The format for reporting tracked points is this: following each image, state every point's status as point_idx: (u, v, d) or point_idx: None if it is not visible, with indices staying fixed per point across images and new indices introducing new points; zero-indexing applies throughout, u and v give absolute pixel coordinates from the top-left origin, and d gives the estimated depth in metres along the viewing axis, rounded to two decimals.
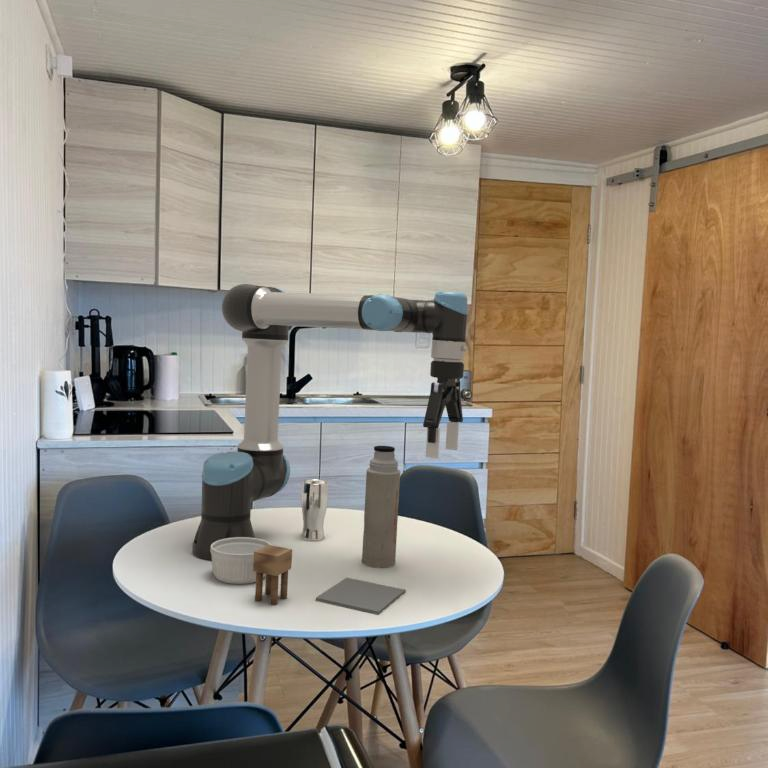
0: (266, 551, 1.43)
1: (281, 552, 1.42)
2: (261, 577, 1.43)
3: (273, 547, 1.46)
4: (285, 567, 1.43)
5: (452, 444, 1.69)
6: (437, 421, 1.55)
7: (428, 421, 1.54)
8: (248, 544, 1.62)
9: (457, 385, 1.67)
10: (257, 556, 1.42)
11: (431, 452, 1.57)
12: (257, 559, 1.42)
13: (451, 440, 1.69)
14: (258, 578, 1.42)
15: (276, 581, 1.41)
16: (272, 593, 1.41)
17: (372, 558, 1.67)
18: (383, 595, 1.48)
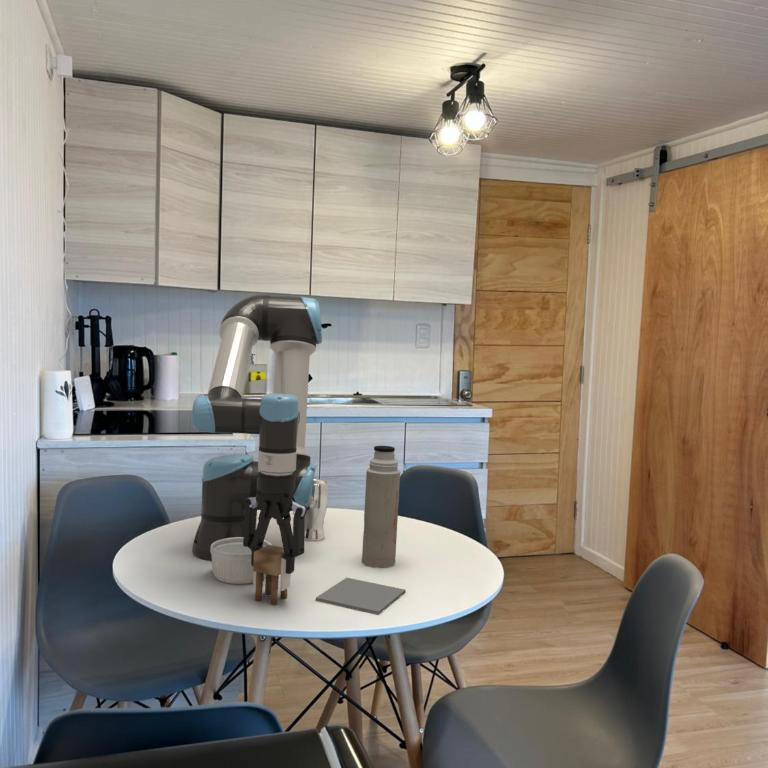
0: (266, 551, 1.43)
1: (281, 552, 1.42)
2: (261, 577, 1.43)
3: (273, 547, 1.46)
4: None
5: None
6: (251, 544, 1.44)
7: None
8: None
9: None
10: (257, 556, 1.42)
11: None
12: (257, 559, 1.42)
13: None
14: (258, 578, 1.42)
15: (276, 581, 1.41)
16: (272, 593, 1.41)
17: (372, 558, 1.67)
18: (383, 595, 1.48)
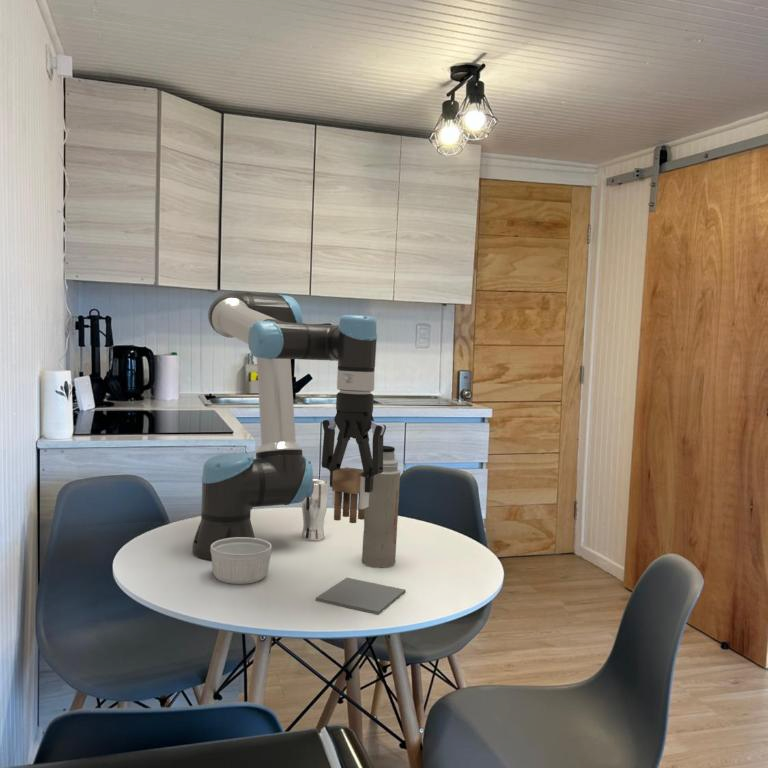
0: (344, 470, 1.45)
1: (359, 472, 1.44)
2: (340, 496, 1.44)
3: (351, 468, 1.47)
4: None
5: None
6: (330, 464, 1.46)
7: None
8: (248, 544, 1.62)
9: None
10: (336, 475, 1.44)
11: None
12: (336, 478, 1.44)
13: None
14: (337, 497, 1.44)
15: (355, 499, 1.43)
16: (351, 511, 1.43)
17: (372, 558, 1.67)
18: (383, 595, 1.48)
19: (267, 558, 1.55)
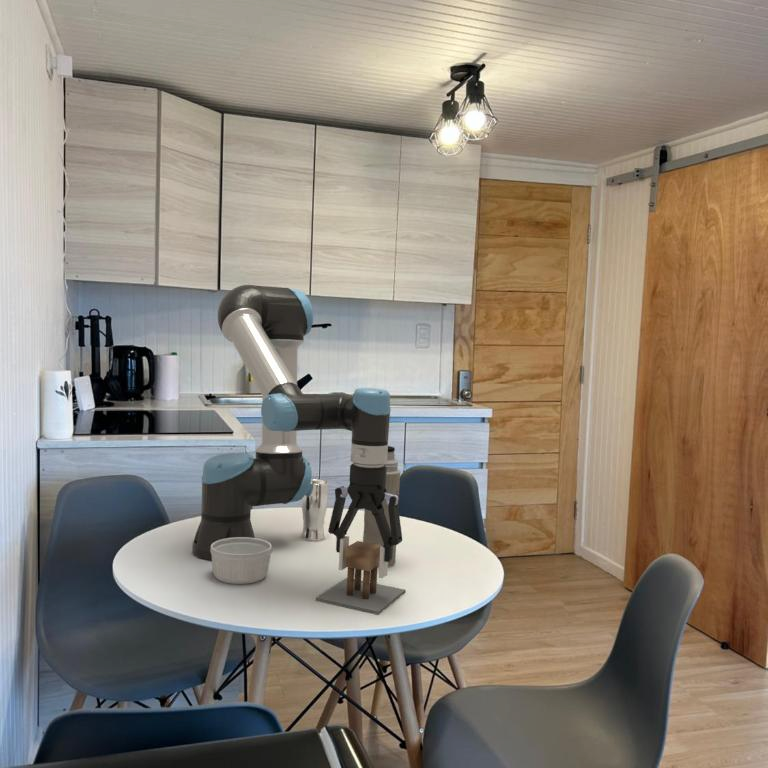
0: (357, 546, 1.47)
1: (372, 548, 1.46)
2: (353, 572, 1.47)
3: (362, 543, 1.50)
4: (376, 563, 1.47)
5: None
6: (337, 530, 1.49)
7: None
8: (248, 544, 1.62)
9: None
10: (349, 552, 1.46)
11: None
12: (349, 555, 1.46)
13: None
14: (350, 573, 1.46)
15: (368, 576, 1.45)
16: (364, 588, 1.45)
17: None
18: (383, 595, 1.48)
19: (267, 558, 1.55)
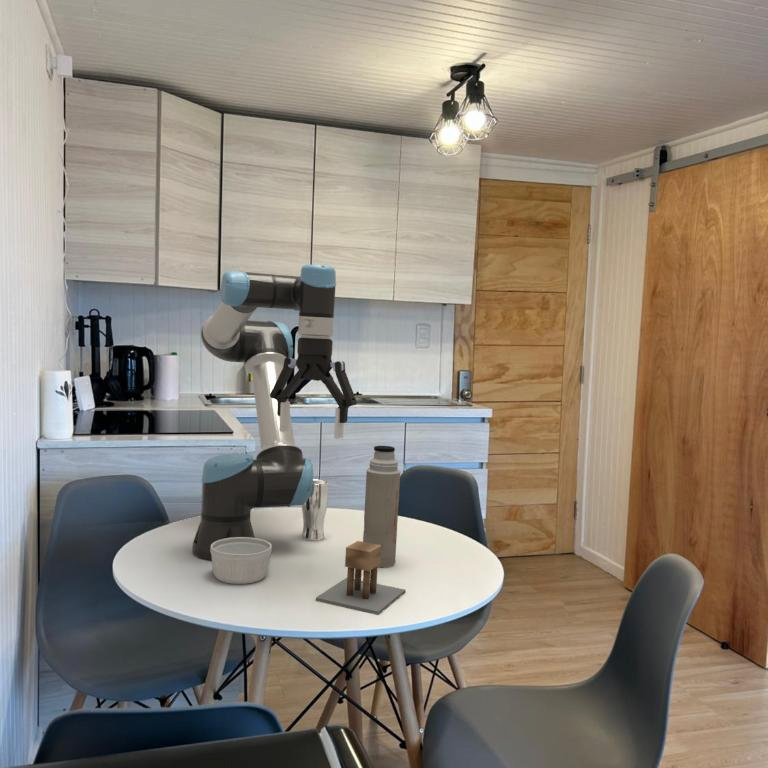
0: (357, 546, 1.47)
1: (372, 548, 1.46)
2: (353, 572, 1.47)
3: (362, 543, 1.50)
4: (376, 563, 1.47)
5: None
6: (279, 394, 1.58)
7: None
8: (248, 543, 1.62)
9: None
10: (349, 552, 1.46)
11: None
12: (349, 555, 1.46)
13: None
14: (350, 573, 1.46)
15: (368, 576, 1.45)
16: (364, 588, 1.45)
17: None
18: (383, 595, 1.48)
19: (267, 558, 1.55)
